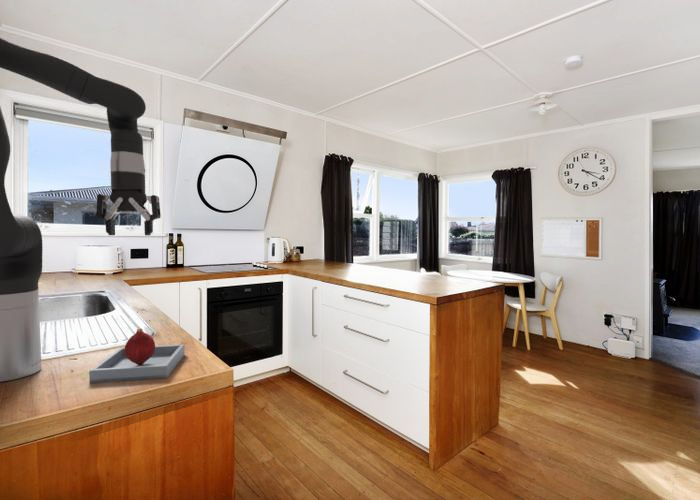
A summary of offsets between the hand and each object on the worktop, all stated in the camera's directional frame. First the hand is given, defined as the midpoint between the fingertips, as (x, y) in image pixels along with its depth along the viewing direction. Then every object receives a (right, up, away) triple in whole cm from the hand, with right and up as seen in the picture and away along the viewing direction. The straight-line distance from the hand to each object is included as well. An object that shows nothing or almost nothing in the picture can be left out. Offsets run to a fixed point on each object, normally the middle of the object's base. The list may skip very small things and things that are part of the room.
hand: (130, 235), depth 93 cm
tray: (+12, -29, -15) cm, 35 cm away
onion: (+11, -29, -15) cm, 35 cm away
